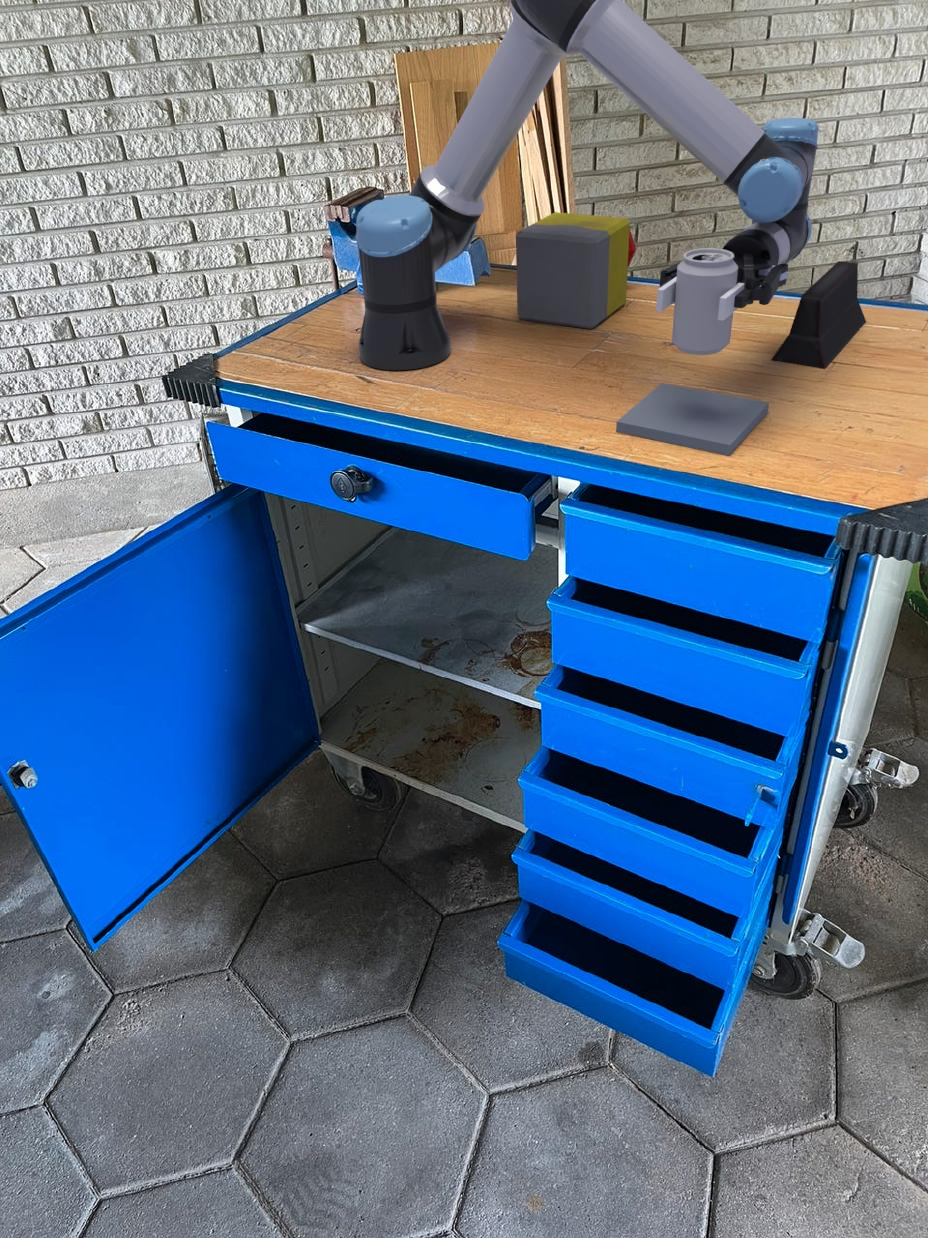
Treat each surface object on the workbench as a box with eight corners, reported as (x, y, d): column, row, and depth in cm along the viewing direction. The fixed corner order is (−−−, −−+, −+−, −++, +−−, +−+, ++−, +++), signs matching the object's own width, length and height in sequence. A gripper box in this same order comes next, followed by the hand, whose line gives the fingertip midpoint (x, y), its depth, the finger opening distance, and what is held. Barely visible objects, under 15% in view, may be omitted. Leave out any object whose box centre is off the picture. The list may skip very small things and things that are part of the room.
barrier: (825, 370, 146) (837, 304, 140) (769, 361, 150) (778, 297, 144) (867, 322, 161) (879, 261, 155) (814, 315, 165) (824, 255, 160)
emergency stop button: (646, 289, 181) (651, 204, 172) (593, 330, 164) (595, 239, 155) (573, 280, 187) (575, 199, 179) (515, 319, 171) (513, 231, 162)
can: (688, 333, 131) (696, 241, 124) (739, 343, 127) (750, 249, 120) (660, 350, 126) (667, 256, 119) (712, 361, 122) (722, 264, 115)
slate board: (616, 431, 131) (616, 421, 131) (660, 392, 141) (661, 382, 141) (728, 455, 124) (730, 444, 123) (767, 412, 134) (769, 402, 133)
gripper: (822, 292, 132) (766, 346, 117) (682, 275, 141) (614, 323, 126) (831, 235, 127) (775, 283, 112) (687, 221, 137) (616, 264, 122)
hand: (690, 304), depth 119 cm, fingers closed on can, 7 cm apart
